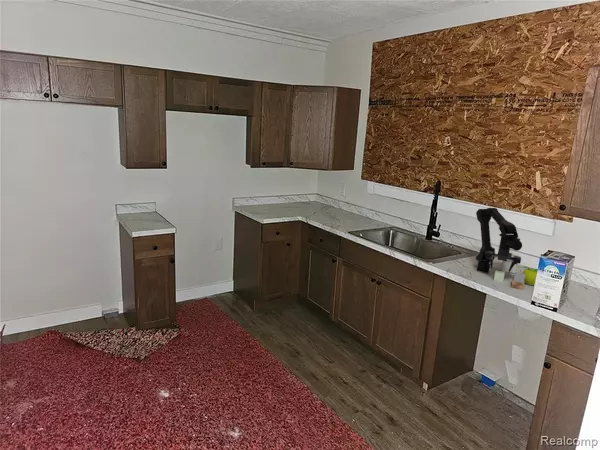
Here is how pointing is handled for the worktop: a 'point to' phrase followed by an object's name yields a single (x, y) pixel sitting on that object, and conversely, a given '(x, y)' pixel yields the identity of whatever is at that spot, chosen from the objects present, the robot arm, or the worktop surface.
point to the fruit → (530, 275)
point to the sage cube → (499, 276)
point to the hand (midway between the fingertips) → (500, 270)
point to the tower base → (517, 285)
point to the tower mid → (519, 277)
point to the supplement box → (509, 263)
